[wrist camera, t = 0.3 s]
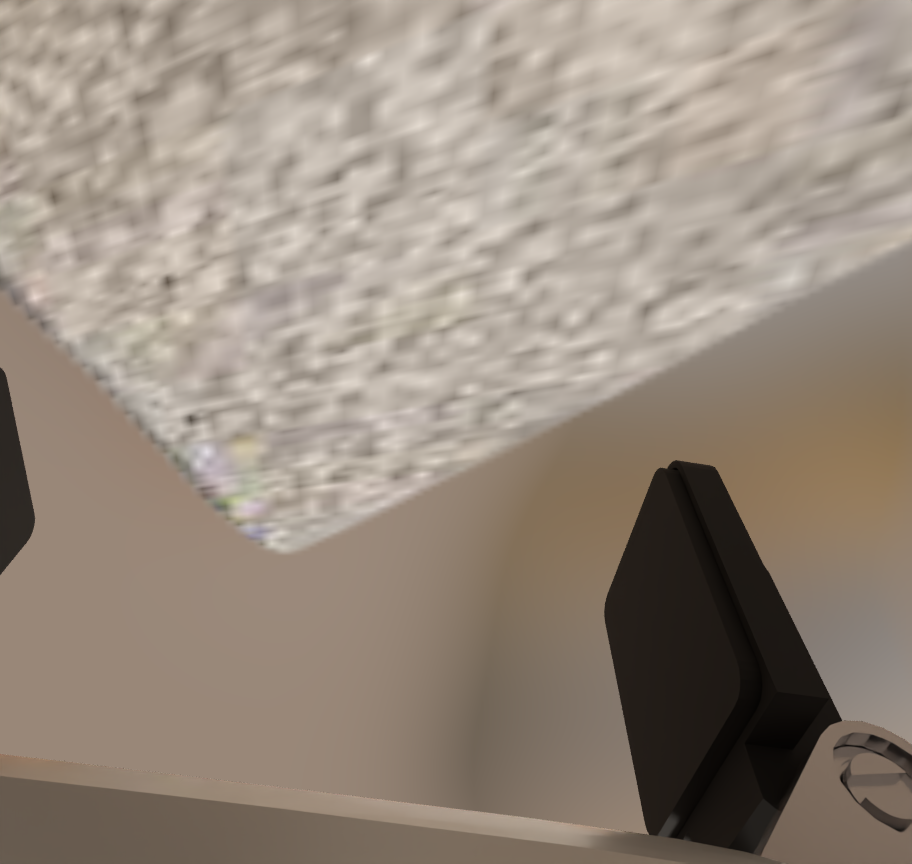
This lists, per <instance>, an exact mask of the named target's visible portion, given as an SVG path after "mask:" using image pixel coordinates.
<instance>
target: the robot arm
mask: <svg viewBox="0 0 912 864" xmlns="http://www.w3.org/2000/svg"><path fill="white" fill-rule="evenodd" d="M34 523H35V516H34V509H33V505H32V500H31V495H30V490H29V486H28V481H27V475H26V470H25V466H24V461H23V456H22V451H21V446H20V441H19V436H18V431H17V427H16V422H15V417H14V412H13V407H12V402H11V397H10V392H9V388H8V383H7V378H6V375H5V372H4V371H3V370H2V369H1V368H0V575H1V573H2V572H3V571H4V570H5V568H6V567H7V566H8V565H9V563H10V562H11V561H12V560H13V559H14V557H15V556H16V555H17V554H18V552H19V551H20V550H21V549H22V547H23V546H24V545H25V544H26V543H27V541H28V540H29V538H30V536H31V534H32V532H33V528H34ZM604 613H605V624H606V628H607V633H608V638H609V644H610V649H611V654H612V659H613V664H614V669H615V674H616V679H617V684H618V689H619V694H620V699H621V704H622V710H623V715H624V719H625V725H626V730H627V735H628V740H629V745H630V749H631V755H632V760H633V765H634V770H635V775H636V780H637V785H638V791H639V795H640V800H641V806H642V811H643V816H644V821H645V825H646V828H647V831H648V833H649V835H647V834H639V833H632V832H626V831H619V830H612V829H605V828H598V827H591V826H584V825H577V824H569V823H562V822H555V821H548V820H541V819H533V818H525V817H517V816H509V815H501V814H492V813H485V812H477V811H469V810H461V809H453V808H445V807H437V806H429V805H421V804H413V803H405V802H397V801H389V800H380V799H372V798H365V797H357V796H348V795H341V794H333V793H324V792H316V791H308V790H300V789H291V788H283V787H275V786H266V785H258V784H250V783H241V782H233V781H225V780H217V779H208V778H200V777H191V776H183V775H175V774H166V773H157V772H149V771H141V770H132V769H124V768H116V767H107V766H98V765H90V764H82V763H73V762H65V761H56V760H48V759H39V758H30V757H21V756H13V755H4V754H0V864H912V745H911V744H910V743H909V742H907V741H906V740H905V739H903V738H901V737H899V736H897V735H895V734H894V733H892V732H890V731H888V730H886V729H884V728H882V727H878V726H875V725H872V724H869V723H866V722H863V721H846V720H844V721H842V719H841V717H840V715H839V713H838V711H837V709H836V707H835V705H834V703H833V701H832V699H831V697H830V695H829V693H828V691H827V689H826V687H825V685H824V683H823V681H822V679H821V677H820V675H819V673H818V671H817V669H816V667H815V665H814V663H813V661H812V659H811V657H810V655H809V653H808V650H807V649H806V647H805V644H804V642H803V640H802V639H801V636H800V634H799V632H798V630H797V628H796V626H795V624H794V622H793V620H792V618H791V616H790V614H789V612H788V610H787V608H786V606H785V604H784V602H783V600H782V598H781V596H780V594H779V592H778V590H777V588H776V586H775V584H774V582H773V580H772V578H771V576H770V574H769V572H768V571H767V569H766V568H765V566H764V565H763V563H762V561H761V559H760V557H759V555H758V552H757V551H756V549H755V546H754V544H753V542H752V541H751V538H750V536H749V534H748V532H747V530H746V528H745V526H744V524H743V522H742V520H741V518H740V516H739V514H738V512H737V510H736V508H735V506H734V504H733V502H732V500H731V498H730V495H729V494H728V491H727V489H726V487H725V485H724V484H723V481H722V479H721V477H720V475H719V473H718V471H717V470H716V468H715V467H713V466H710V465H703V464H697V463H690V462H684V461H677V460H676V461H673V462H672V463H671V464H670V465H669V466H668V468H667V469H665V468H659V469H658V470H657V471H656V472H655V474H654V476H653V479H652V481H651V484H650V487H649V489H648V492H647V494H646V497H645V499H644V502H643V504H642V507H641V510H640V512H639V515H638V518H637V520H636V523H635V525H634V528H633V530H632V533H631V535H630V538H629V540H628V544H627V546H626V548H625V551H624V553H623V556H622V558H621V561H620V564H619V566H618V569H617V572H616V574H615V576H614V579H613V582H612V584H611V587H610V589H609V592H608V595H607V598H606V602H605V611H604Z"/></svg>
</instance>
